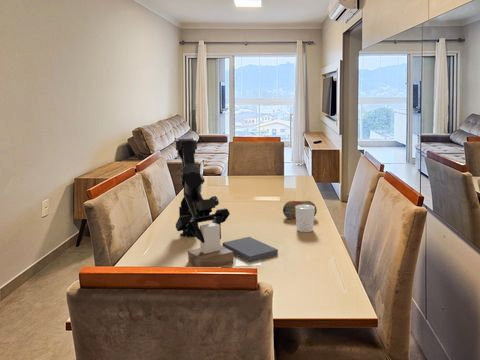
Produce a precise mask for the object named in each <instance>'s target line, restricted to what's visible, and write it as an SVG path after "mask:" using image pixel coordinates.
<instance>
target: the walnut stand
mask: <svg viewBox="0 0 480 360" xmlns="http://www.w3.org/2000/svg"><path fill="white" fill-rule="evenodd" d="M187 255H188V256H187V260H188V263H189V264H191V265H192V266H193V267H195V268H197V267H216V268H219V267H224V266H227V265H231V264H234V254H233V251H231V250H229V249H227V248H225V247H223V245H222V244H220V250H219V251H215V252H211V253H206V254H204V253H203V252H201V249H200V247H198V248H195V249H190V250H187Z"/></svg>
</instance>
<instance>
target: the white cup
mask: <svg viewBox="0 0 480 360" xmlns="http://www.w3.org/2000/svg"><path fill="white" fill-rule="evenodd" d="M295 209H296V219H295V224H296V231H297V232H300V233H310V232H313V231H314V224H315V223H314V222H315V216H314V211H315V207H314V206H312V205H297V206H295Z"/></svg>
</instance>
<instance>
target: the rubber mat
mask: <svg viewBox="0 0 480 360" xmlns="http://www.w3.org/2000/svg"><path fill="white" fill-rule="evenodd" d="M222 246H223V247H225V248H227V249H229V250H231V251H233V255H235V256H237V257H238V258H239V257H240V259H241V258H242V259H243V260H245V261H246V262H248V263H252V262H256V261H259V260H260V261H261V260H263V259H267V258H270V257H273V256H274V257H275V256H278V255H279V253H278V252H279V249H278V248H275V247H273V246H271V245H269V244H267V243H264V242H262V241H260V240H258V239H255V238H253V237H251V236H246V237H242V238H237V239H233V240H228V241H224V242H222Z"/></svg>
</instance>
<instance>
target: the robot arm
mask: <svg viewBox="0 0 480 360" xmlns="http://www.w3.org/2000/svg"><path fill="white" fill-rule="evenodd" d="M197 143H198V142H197V140H194V138H193V137H192V138H178V140H177V141H175V150H176V151H177V156H178V157H179V158H180V160H181V167H182V169H181V174H180V175H179V176H180V186H182V187H183V197H182V200H181V202H180V206H178V218H177V221H176V222H175V229H176V231H177V232H181V233H179V236H180V237H181V236H183V237H189V238H190V237H191V238H194V237H195V238H196V239H198V241H199V242H200V241H201V242H202V243H204V242H205V241H204V238H203V235H202V233H201V231H200V225H199V223H204V222H209V221H211V223H217V224H219V225H220V240H221V239H222V228H221V224H223V223H225V222H226V220H227V219H228V217H230V215H231V214H230V211H229V209H228V208H226V207H224V208H219V209H216V210H215V213H212V212H213V210H212V209H215V208H216V207H217V206H218V205H219V204H220V203H219V199H218V197H217V195H213V196H211V197H209V198H207V199H205V198H203V196H202V193H201V192H202V189H203V187H202V185H203V184H204V183H205V178H204V177H203V175H202V173H201V172H200V168H199V167H198V166H197V165H196V161H195V154H196V150H198V144H197ZM211 213H212V214H211Z"/></svg>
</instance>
